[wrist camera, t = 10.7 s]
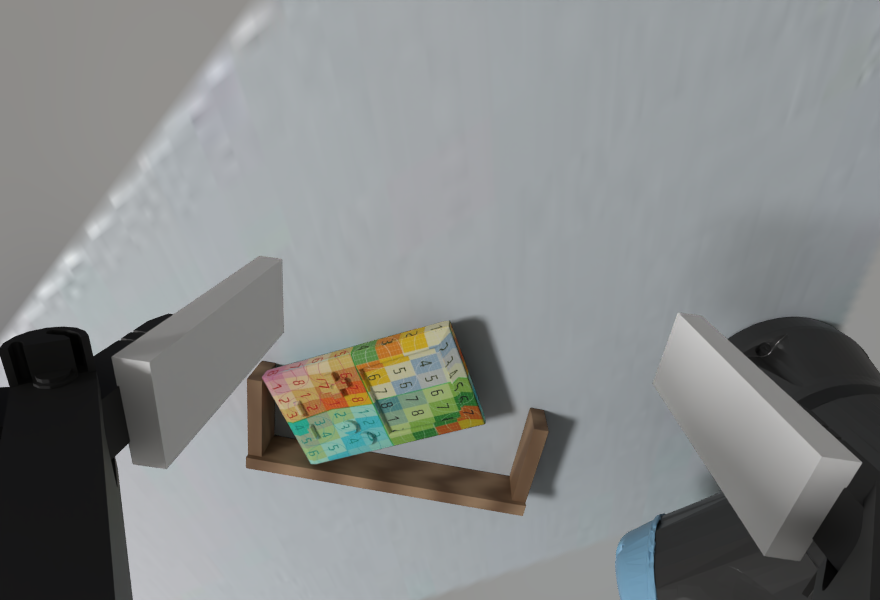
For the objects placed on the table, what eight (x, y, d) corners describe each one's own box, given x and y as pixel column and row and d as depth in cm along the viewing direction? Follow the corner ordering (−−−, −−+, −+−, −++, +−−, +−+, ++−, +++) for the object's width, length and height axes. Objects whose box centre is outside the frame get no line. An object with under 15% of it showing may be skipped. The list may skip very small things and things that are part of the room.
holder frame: (543, 410, 49) (549, 434, 45) (519, 487, 54) (522, 515, 50) (261, 360, 49) (244, 381, 45) (261, 443, 53) (246, 468, 50)
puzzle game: (257, 382, 45) (448, 330, 41) (276, 358, 49) (451, 308, 45) (307, 470, 49) (485, 430, 45) (321, 440, 53) (484, 401, 49)
